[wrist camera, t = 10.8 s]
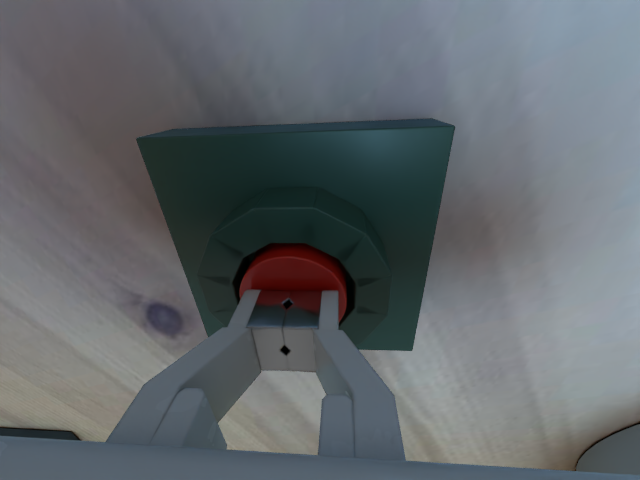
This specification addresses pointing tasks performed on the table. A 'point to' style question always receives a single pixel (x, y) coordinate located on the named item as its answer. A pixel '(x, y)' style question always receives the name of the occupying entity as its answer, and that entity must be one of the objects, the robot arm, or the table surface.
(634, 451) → the bowl
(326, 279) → the button
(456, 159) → the table surface
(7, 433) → the base
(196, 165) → the button block
